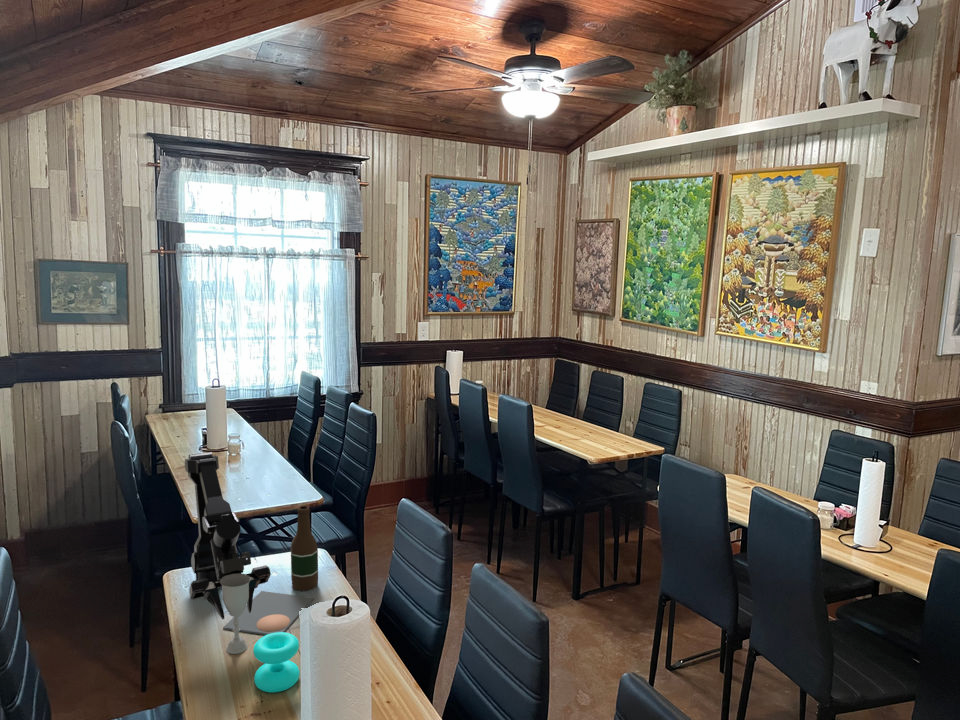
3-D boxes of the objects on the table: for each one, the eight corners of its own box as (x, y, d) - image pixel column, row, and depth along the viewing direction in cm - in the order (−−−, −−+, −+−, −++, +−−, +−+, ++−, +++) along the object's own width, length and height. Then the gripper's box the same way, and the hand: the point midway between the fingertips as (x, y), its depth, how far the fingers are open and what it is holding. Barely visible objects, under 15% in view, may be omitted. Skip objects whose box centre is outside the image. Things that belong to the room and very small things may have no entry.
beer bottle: (323, 585, 208) (322, 507, 204) (300, 594, 202) (299, 514, 198) (308, 576, 213) (307, 500, 209) (285, 585, 207) (284, 507, 203)
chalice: (257, 643, 177) (256, 576, 174) (240, 658, 171) (238, 589, 168) (233, 637, 179) (231, 571, 176) (215, 652, 173) (213, 583, 170)
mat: (223, 629, 183) (223, 626, 183) (261, 592, 203) (261, 590, 203) (280, 637, 180) (280, 635, 180) (313, 599, 200) (313, 597, 200)
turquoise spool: (302, 648, 158) (255, 657, 154) (303, 689, 160) (257, 699, 156) (294, 626, 167) (250, 634, 163) (295, 664, 169) (252, 674, 165)
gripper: (189, 550, 169) (199, 614, 162) (267, 535, 179) (281, 594, 171) (185, 568, 177) (195, 629, 170) (260, 552, 187) (273, 610, 179)
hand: (236, 615), depth 172 cm, fingers closed on chalice, 6 cm apart
